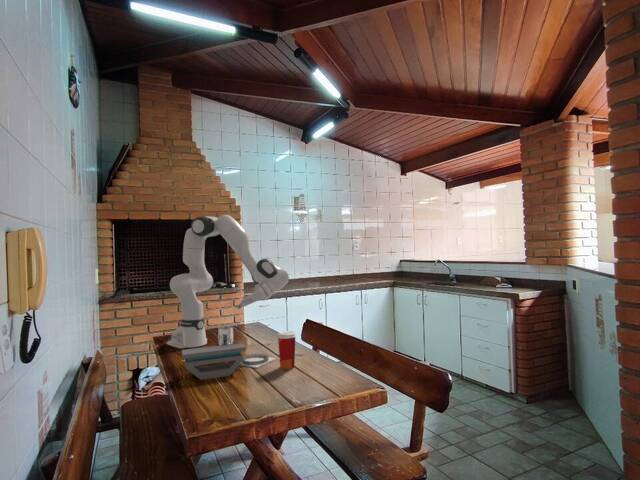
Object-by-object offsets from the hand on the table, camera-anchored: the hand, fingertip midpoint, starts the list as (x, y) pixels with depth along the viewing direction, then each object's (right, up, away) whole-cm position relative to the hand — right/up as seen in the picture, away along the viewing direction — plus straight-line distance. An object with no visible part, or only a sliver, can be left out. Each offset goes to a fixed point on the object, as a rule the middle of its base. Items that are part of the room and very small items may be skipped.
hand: (239, 307), depth 184 cm
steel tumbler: (-5, -24, -5) cm, 25 cm away
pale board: (+9, -23, -10) cm, 27 cm away
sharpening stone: (-5, -24, -26) cm, 35 cm away
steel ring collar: (+9, -23, -10) cm, 27 cm away
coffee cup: (+25, -23, -19) cm, 39 cm away
